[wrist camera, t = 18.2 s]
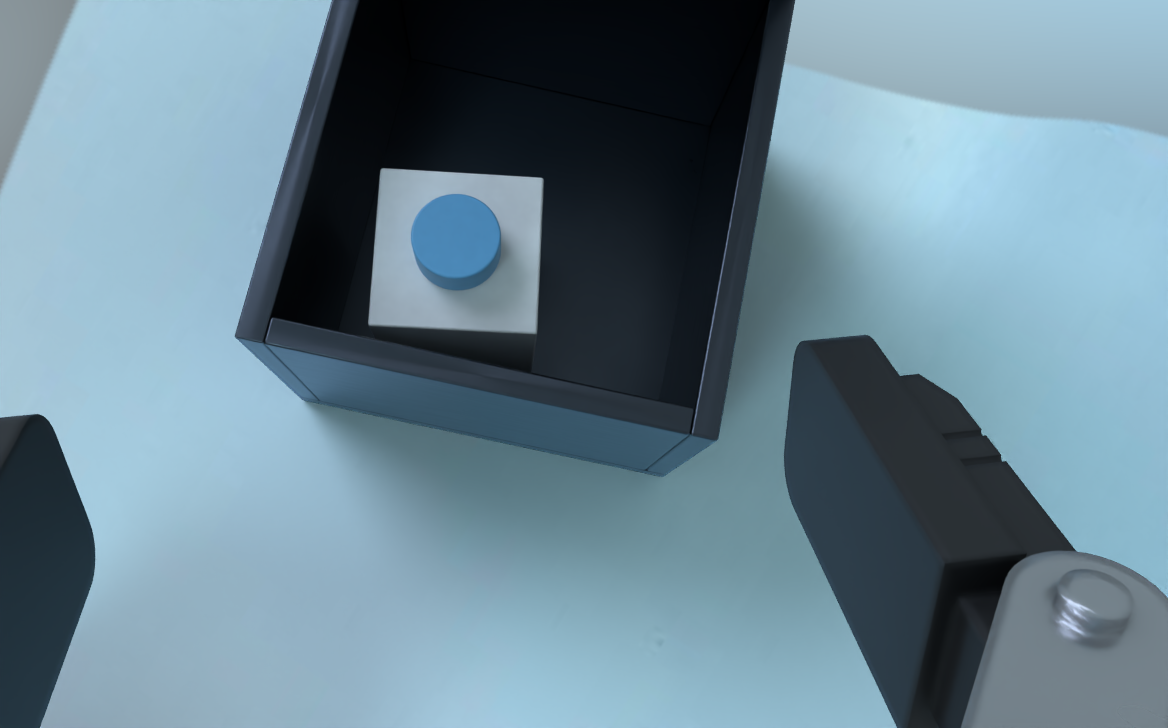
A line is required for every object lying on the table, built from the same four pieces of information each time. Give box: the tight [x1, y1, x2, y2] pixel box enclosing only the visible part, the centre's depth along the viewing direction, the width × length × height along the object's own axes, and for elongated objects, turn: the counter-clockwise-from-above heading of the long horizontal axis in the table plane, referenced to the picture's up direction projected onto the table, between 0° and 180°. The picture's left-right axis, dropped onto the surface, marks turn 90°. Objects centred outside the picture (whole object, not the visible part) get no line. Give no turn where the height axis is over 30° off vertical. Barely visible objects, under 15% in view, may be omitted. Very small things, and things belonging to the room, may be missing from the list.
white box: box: [368, 168, 544, 373], centre depth 34 cm, size 5×5×8 cm
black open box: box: [235, 0, 795, 477], centre depth 35 cm, size 15×14×10 cm
